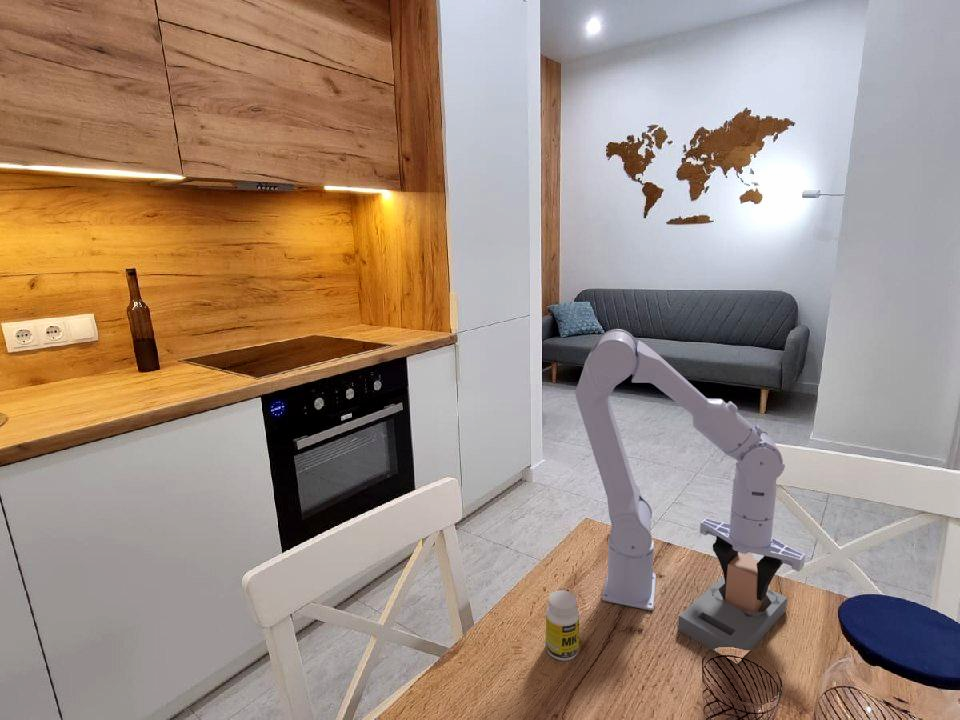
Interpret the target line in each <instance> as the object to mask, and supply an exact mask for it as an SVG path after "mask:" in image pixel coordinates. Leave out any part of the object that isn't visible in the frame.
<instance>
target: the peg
mask: <svg viewBox="0 0 960 720" xmlns="http://www.w3.org/2000/svg"><path fill="white" fill-rule="evenodd" d="M759 561H760V560H758V559H755V558H752V557H750V556H748V555H746V554H743V553H740V552H738V555H737V556H736V557H735V558H734V559H733V560H732V561H731V562H730V563H729V564H728V570H727V582H726V595H725V596H724V597H725V598H724V601H725V602H727V603H729V604H731V605H732V606H734V607H736V608H738V609H740V610H742V611H752V612H759V610H760V608H761V607H762V606H763V602H764V598H763V600H762V601H760V600H757V585H758V571H757V563H758V562H759Z"/></svg>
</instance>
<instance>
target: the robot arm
mask: <svg viewBox="0 0 960 720" xmlns="http://www.w3.org/2000/svg"><path fill="white" fill-rule="evenodd" d="M631 375H632V376H631ZM630 376H631V383H633V384H634V383H637V384H638V383H645V384H646V383H649V384H652V385H654V387H656V388H657V389H659V391H661V392H663V393H664V394H665V395H666V396H668V397H669V398H670V399H672V400H673V401H674V402H676V403H677V404H678V405H680V406H681V407H682V408H683V409H684V410H685V411H686V412H688V413H690V415H692V425H693V428H694V429H696V430H697V432H699V433H700V434H702V436H704V437H705V438H706V439H707V440H709V441H710V442H711V443H712V444H713V446H716V447H717V448H718V449H719V450H720V451H721V452H723V454H725V455H726V456H728V457H730V458H733V459H734V460H736V461H737V462H736V463H735V472H734V478H733V482H732V495H731V507H730V516H729V517H730V519H729V522H728V523H727V522H724V521H723V522H722V521H718V520H713V519H710V518H707V517H706V518H704V519H703V520H702V521H700V527H699V534H702V535H705V536H707V535H711V536H713V537H715V541H714V543H713V544H712V551H713V553H714V554H715V556H716V557H717V560H718V562H719V564H720V567H721V570H722V574H723V576H724V579H725V585H726V582H727V570H728V564H729V563H730V562H731V561H732V560H733V559H734V558H735V557H736V556H737V555H738V554H739V553H740V554H743V555H746V554H749V553H750V554H756V555H759V556H763V557H762V558H760V560H758V561H759V562H758V563H757V571H758V585H757V600H760V601H762V600H763V598H764V597H765V596H766V593H767V590H768V589H769V587H770V585H771V581H772V580H773V578H774V576H775V575H776V574H777V572H778V570H779V569H780V568H781V567H782V565H783V564H785V565H788V566H791V569H792V570H794V571H797V572H800V571H801V570H802V569H803V568H804V566H805V559H806V553H803V552H800V551H799V550H796V549H794V548H791V547H790V546H788V545H787V544H785V543H783V542H781V541H780V540H777V539H776V538H774V537H772V535H773V526H774V518H775V507H776V498H777V497H776V495H777V479H778V478H779V477H780V476H782V474H783V472H784V470H785V468H786V467H785V466H786V465H785V463H783V461H784V459H783V455H782V454H781V452H780V450H779V448H778V446H777V445H776V443H775V442H774V440H773V438H772V437H770V436H769V435H768V432H767V431H765V430H763V428H761V426H759V425H758V424H756V425H754V424H752V423H751V422H749V421H748V420H747V419H746V418H745V417H743V416H742V415H741V414H740V413H739V412H738V410H739V409H738V406H737V405H736V404H735V403H733V402H732V401H730V400H729V401H728V402H725V400H723V398H707V397H706V396H705V395H704V394H703V393H702V392H700V390H699V389H697V387H695V386H693V384H692V383H690V381H688V380H687V379H686V377H684V376H683V375H682V374H681V373H680V372H678V370H676V369H675V368H674V367H673V366H672V365H670V364H669V363H668V361H666V360H665V359H664V358H662V356H661V355H660V354H658V353H657V352H656V351H654V350H653V349H652V348H651V347H649V346H648V345H647V344H646V343H644V342H642V341H641V340H638V341H637V340H636V338H635V337H634V336H633V334H631V333H630V332H629V331H627V330H624V329H621V328H620V329H619V328H615V329H611V330H608V331H606V332H604V333H603V334H602V335H601V336H600V337H599V339H598V340H596V342H595V344H594V345H593V346H592V348H591V350H590V352H589V354H588V356H587V358H586V360H585V361H584V365H583V368H582V371H581V375H580V378H579V380H578V383H577V385H576V389H575V399H576V402H577V406H578V409H579V411H580V415H581V418H582V422H583V424H584V427H585V431H586V434H587V438H588V441H589V444H590V446H591V449H592V453H593V456H594V459H595V464H596V465H597V469H598V471H599V475H600V478H601V481H602V484H603V488H604V491H605V494H606V497H607V508H608V516H609V517H608V518H609V520H610V523H611V524H610V525H611V528H610V533H609V535H608V544H607V545H608V547H607V549H608V550H607V551H608V552H607V574H606V579H605V584H604V588H603V592H602V595H601V596H602V597H601V599H602V601H604V602H608V603H613V604H617V605H623V606H628V607H632V608H633V607H634V608H638V609H642V610H647V611H653V610H654V608H655V607H654V605H655V604H654V603H655V590H656V578H657V573H655V572H654V555H655V554H654V552H655V550H654V549H655V543H654V540H653V537H652V536H653V535H652V524H651V523H652V521H651V520H652V517H653V515H652V514H653V512H652V511H653V510H652V507H651V505H650V503H649V501H647V500H646V499H645V498H644V496H643V495H642V494H641V492H640V487H639V486H638V485H637V483H636V482H635V478H634V476H633V472H632V469H631V466H630V462H629V460H628V459H629V458H628V457H627V453H626V449H625V446H624V444H623V440H622V436H621V434H620V431H619V430H620V429H619V426H618V423H617V421H616V417H615V414H614V410H613V407H612V404H611V400H610V397H609V396H610V395H611V394H612V392H613V391H614V389H615V388H616V386H617V385H619V384H621V383H623V381H625V380H626V379H627V378H629V377H630Z"/></svg>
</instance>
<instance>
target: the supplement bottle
mask: <svg viewBox="0 0 960 720" xmlns="http://www.w3.org/2000/svg"><path fill="white" fill-rule="evenodd" d="M545 648H546V651H547V654H548V655H550V657H552V658H554V659H556V660H558V661H562V662H563V661H565V662H566V661H570V660H573V659H574V658H575V657H576V656H577V655H578V653H579V651H580V613H579V609H578V600H577V597H576V595H574V594H573V593H572V592H570V591H567V590H564V589H563V590H561V589H560V590H555V591H553V592H551V593H550V595H549V596H548V606H547V608H546V610H545Z"/></svg>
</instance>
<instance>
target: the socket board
mask: <svg viewBox="0 0 960 720" xmlns="http://www.w3.org/2000/svg"><path fill="white" fill-rule="evenodd" d="M725 595H726V585H725V579H724V575H723V576H722V577H721V578H720V579H719V580H718V581H716V582H715V583H714V584H712V586H711V587H709V588H708V589H707V590H706V591H705V592H704V593H703V594H701V595H700V596H699V597H698V598H697V599H696V600H694V601H693V602H692V603H691V604H690V605H689V606H688V607H686V608H685V609H684V610H683V611H682V612H681V613H680V614H678V623H677V630H678V631H680V633H683V634H684V635H686V636H688V637H689V638H691V639H693V640H695V641H696V642H698V643H700V644H701V645H703V646H705V647H706V648H708V649H710V650H711V651H713V649H715V648H718V647H734V648H739V649H743V650H751V651H752V650H753V649H754V648H755V646H757V645H758V643H759V642H760V641H761V640H762V639H763V638H764V637H765V635H766V634H767V633H768V632H769V631H770V630H771V629H772V628H773V626H774V625H775V624H776V623H777V622H778V621H779V619H780V618H781V617H782V616H783V615H784V614H785V613H786V612H787V605H788V604H787V602H788V597H787V596H785V595H783V594H781V593H779V592H777V591H774V590H771V589H769V588H768V590H767V593H766V596H765V597H764V602H763V605H762V606H763V607H764V609H765V610H763V611H757V612H752V611H742V610H740V609H738V608H736V607H734V606H732V605H731V604H729V603H727V602H725V598H724V597H725Z"/></svg>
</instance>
